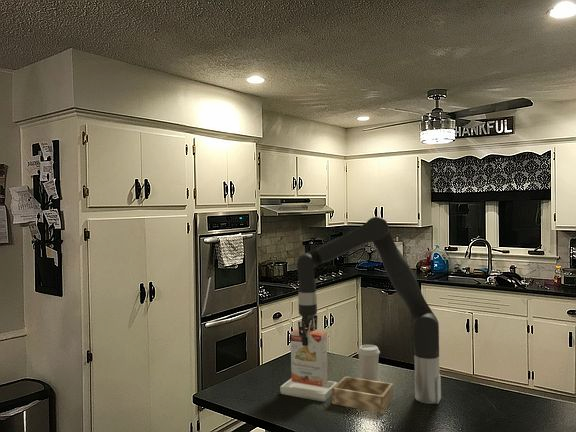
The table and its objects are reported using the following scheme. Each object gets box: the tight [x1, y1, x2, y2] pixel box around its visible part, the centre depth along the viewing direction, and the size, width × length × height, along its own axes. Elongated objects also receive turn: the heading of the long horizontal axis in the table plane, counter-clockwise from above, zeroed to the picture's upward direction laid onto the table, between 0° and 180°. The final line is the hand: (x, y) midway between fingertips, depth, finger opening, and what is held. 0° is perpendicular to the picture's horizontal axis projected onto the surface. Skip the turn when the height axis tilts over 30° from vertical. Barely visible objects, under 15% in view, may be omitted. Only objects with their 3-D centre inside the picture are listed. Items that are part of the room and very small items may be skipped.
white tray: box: [279, 377, 339, 403], centre depth 194 cm, size 20×14×3 cm
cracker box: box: [290, 328, 329, 386], centre depth 193 cm, size 14×6×21 cm, turn 62°
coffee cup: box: [357, 344, 381, 381], centre depth 203 cm, size 10×10×15 cm
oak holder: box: [331, 376, 395, 414], centre depth 183 cm, size 20×14×6 cm
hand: (308, 343), depth 193 cm, fingers closed on cracker box, 6 cm apart
